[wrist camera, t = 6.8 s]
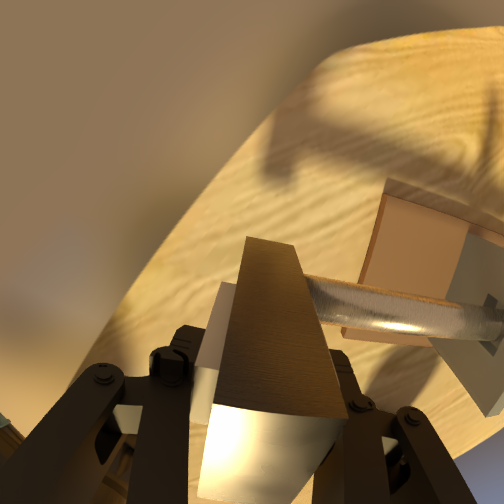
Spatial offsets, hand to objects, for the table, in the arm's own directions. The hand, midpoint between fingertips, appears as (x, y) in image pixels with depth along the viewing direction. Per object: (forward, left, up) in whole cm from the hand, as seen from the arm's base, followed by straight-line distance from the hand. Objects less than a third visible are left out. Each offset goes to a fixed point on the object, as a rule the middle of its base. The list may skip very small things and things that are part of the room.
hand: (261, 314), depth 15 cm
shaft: (+12, 0, -5) cm, 13 cm away
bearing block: (+22, 0, -12) cm, 26 cm away
